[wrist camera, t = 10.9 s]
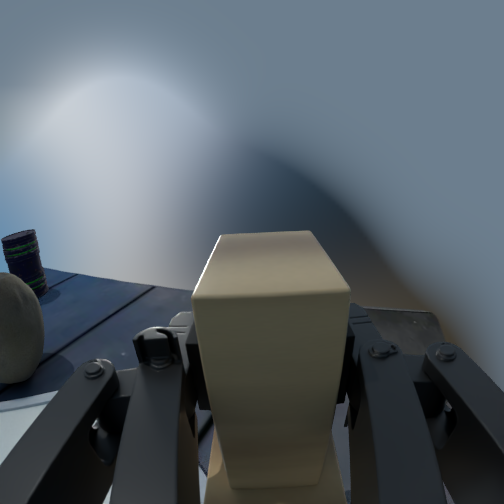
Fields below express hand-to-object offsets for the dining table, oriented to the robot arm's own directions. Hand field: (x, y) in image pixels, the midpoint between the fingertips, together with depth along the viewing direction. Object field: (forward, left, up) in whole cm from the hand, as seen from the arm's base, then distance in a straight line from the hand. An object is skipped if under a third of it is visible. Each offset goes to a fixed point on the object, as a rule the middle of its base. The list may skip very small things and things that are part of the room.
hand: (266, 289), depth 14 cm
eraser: (-5, +3, -7) cm, 9 cm away
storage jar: (+63, +26, -18) cm, 71 cm away
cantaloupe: (+28, +24, -18) cm, 41 cm away
